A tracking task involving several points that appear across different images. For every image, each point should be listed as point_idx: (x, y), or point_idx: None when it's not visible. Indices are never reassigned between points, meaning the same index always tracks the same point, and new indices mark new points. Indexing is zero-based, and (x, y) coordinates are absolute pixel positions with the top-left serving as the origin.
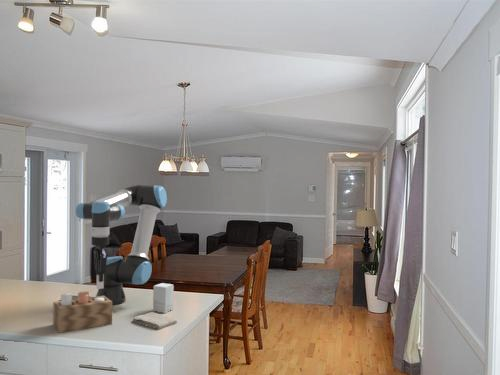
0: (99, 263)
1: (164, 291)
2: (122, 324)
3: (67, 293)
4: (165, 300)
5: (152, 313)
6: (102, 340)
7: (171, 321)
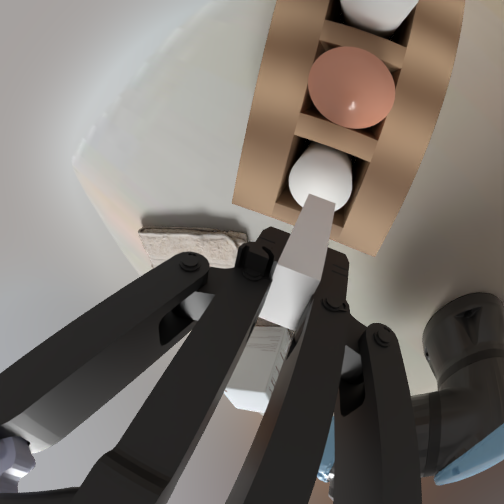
0: (155, 393)
1: None
2: None
3: (412, 2)
4: None
5: None
6: (147, 66)
7: None
